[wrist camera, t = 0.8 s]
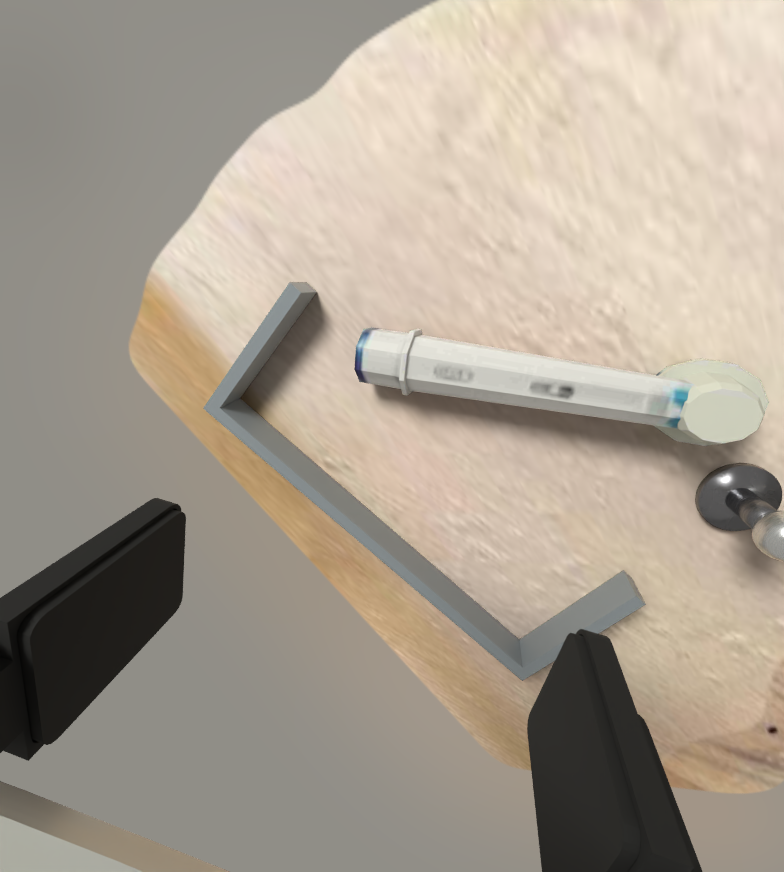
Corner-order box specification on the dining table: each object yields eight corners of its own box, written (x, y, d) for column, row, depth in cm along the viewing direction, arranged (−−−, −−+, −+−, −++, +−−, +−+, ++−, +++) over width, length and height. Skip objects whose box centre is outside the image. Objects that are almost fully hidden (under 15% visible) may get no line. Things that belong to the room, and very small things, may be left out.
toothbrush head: (356, 318, 28) (822, 383, 21) (389, 313, 34) (761, 363, 27) (350, 396, 30) (778, 479, 23) (383, 378, 36) (730, 440, 29)
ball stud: (793, 496, 30) (877, 553, 24) (726, 538, 32) (787, 601, 25) (744, 449, 29) (816, 493, 23) (679, 494, 31) (730, 547, 25)
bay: (632, 578, 34) (645, 604, 31) (519, 652, 39) (522, 680, 36) (306, 282, 31) (289, 282, 29) (224, 398, 36) (203, 408, 33)
